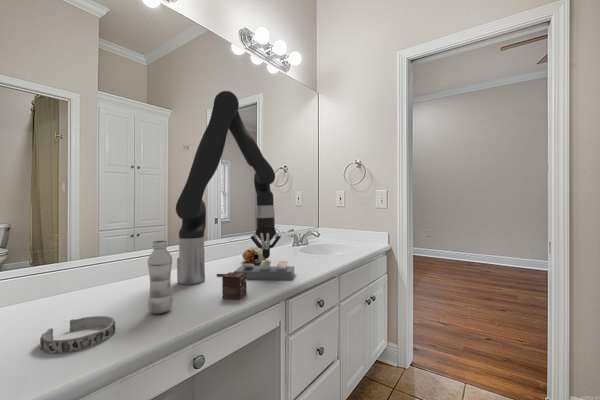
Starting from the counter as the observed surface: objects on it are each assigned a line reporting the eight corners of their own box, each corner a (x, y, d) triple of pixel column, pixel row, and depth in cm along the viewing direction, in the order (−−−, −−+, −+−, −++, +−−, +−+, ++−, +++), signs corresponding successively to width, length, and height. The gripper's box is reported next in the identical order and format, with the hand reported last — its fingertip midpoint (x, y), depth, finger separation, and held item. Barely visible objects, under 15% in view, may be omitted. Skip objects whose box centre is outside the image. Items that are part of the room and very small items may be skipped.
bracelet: (35, 363, 57) (35, 347, 57) (44, 337, 68) (44, 324, 68) (117, 342, 65) (117, 328, 65) (113, 322, 76) (113, 310, 76)
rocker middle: (259, 271, 115) (259, 267, 115) (262, 264, 121) (262, 260, 120) (268, 271, 115) (267, 267, 114) (270, 264, 121) (270, 260, 120)
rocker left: (241, 267, 115) (241, 263, 116) (245, 268, 121) (246, 263, 121) (250, 267, 115) (250, 263, 115) (254, 268, 121) (254, 263, 121)
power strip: (212, 279, 115) (212, 271, 115) (220, 273, 124) (220, 265, 124) (291, 280, 112) (291, 271, 112) (294, 274, 121) (294, 266, 121)
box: (239, 300, 90) (239, 276, 90) (221, 299, 92) (221, 276, 92) (247, 294, 96) (246, 272, 96) (230, 293, 98) (230, 271, 98)
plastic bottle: (166, 306, 86) (165, 239, 86) (177, 311, 82) (176, 241, 82) (143, 312, 81) (142, 241, 81) (154, 318, 77) (153, 243, 77)
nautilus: (253, 270, 130) (226, 269, 136) (276, 258, 149) (251, 258, 155) (251, 253, 129) (224, 253, 136) (274, 243, 149) (250, 243, 155)
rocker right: (276, 271, 114) (276, 267, 114) (278, 264, 120) (278, 260, 120) (285, 271, 114) (285, 267, 114) (287, 264, 120) (287, 260, 119)
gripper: (247, 217, 116) (248, 260, 116) (279, 216, 115) (280, 260, 115) (252, 216, 124) (253, 256, 124) (282, 215, 122) (283, 256, 122)
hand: (266, 258), depth 119 cm, fingers closed
